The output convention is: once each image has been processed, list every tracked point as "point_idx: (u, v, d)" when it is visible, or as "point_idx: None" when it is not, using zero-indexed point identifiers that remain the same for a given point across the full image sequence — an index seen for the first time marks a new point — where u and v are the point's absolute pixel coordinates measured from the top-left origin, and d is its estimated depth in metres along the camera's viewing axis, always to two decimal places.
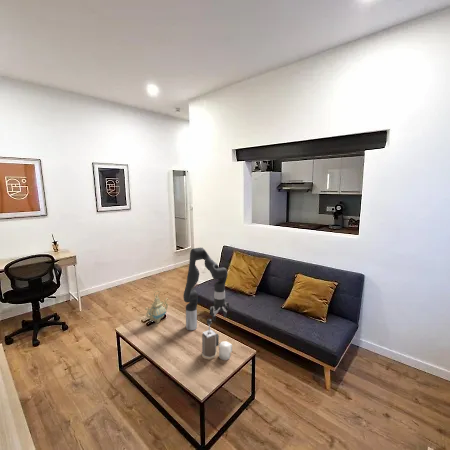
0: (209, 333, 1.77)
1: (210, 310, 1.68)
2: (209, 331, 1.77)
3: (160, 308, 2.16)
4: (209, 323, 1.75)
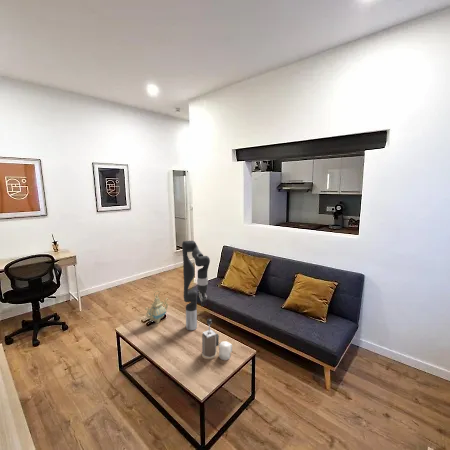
0: (209, 333, 1.77)
1: (205, 299, 1.78)
2: (209, 331, 1.77)
3: (160, 308, 2.16)
4: (209, 323, 1.75)
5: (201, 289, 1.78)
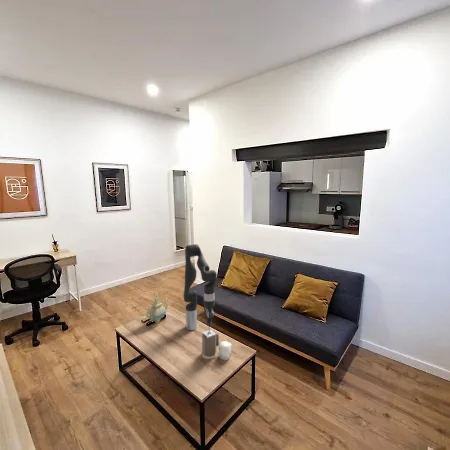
0: None
1: (212, 315, 1.71)
2: (209, 333, 1.77)
3: (160, 308, 2.16)
4: (209, 325, 1.75)
5: (208, 305, 1.71)
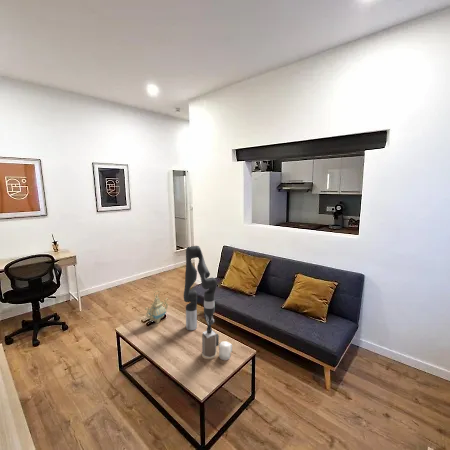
0: None
1: (212, 322, 1.72)
2: None
3: (160, 308, 2.16)
4: (209, 332, 1.76)
5: (208, 312, 1.71)
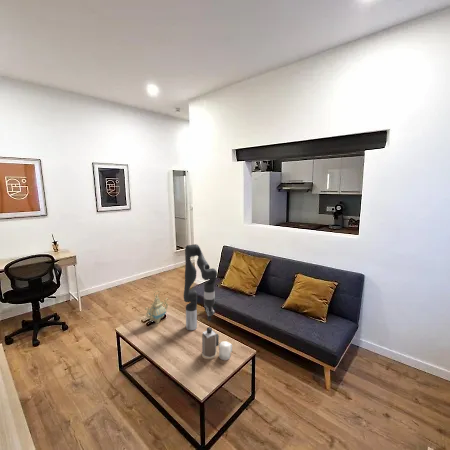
0: None
1: (212, 313, 1.71)
2: None
3: (160, 308, 2.16)
4: (209, 332, 1.76)
5: (208, 303, 1.70)
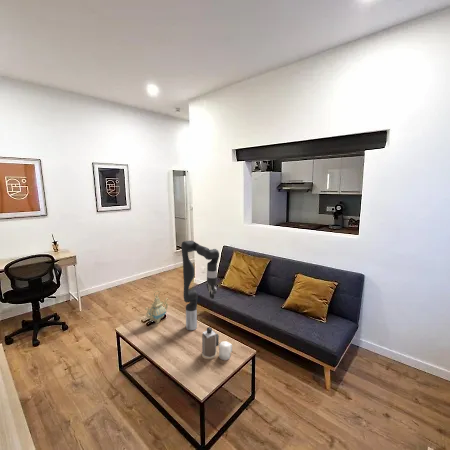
0: None
1: (215, 291, 1.81)
2: None
3: (160, 308, 2.16)
4: (209, 332, 1.76)
5: (211, 282, 1.81)
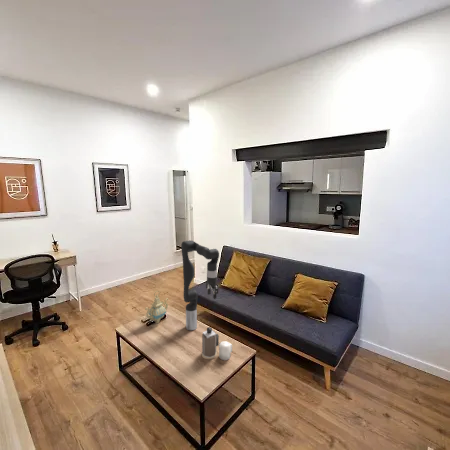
0: None
1: (216, 289, 1.80)
2: None
3: (160, 308, 2.16)
4: (209, 332, 1.76)
5: (211, 281, 1.81)
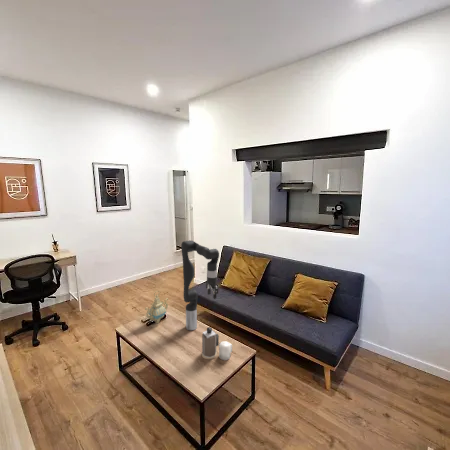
0: None
1: (216, 289, 1.80)
2: None
3: (160, 308, 2.16)
4: (209, 332, 1.76)
5: (211, 281, 1.81)
